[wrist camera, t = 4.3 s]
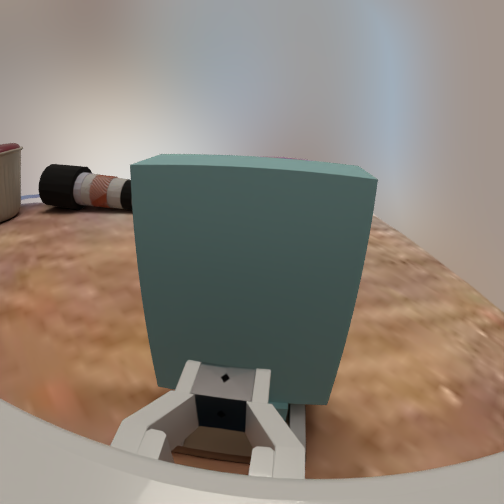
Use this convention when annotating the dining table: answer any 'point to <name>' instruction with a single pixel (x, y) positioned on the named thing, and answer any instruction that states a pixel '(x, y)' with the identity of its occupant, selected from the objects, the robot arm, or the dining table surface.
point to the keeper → (251, 265)
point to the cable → (83, 188)
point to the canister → (10, 180)
